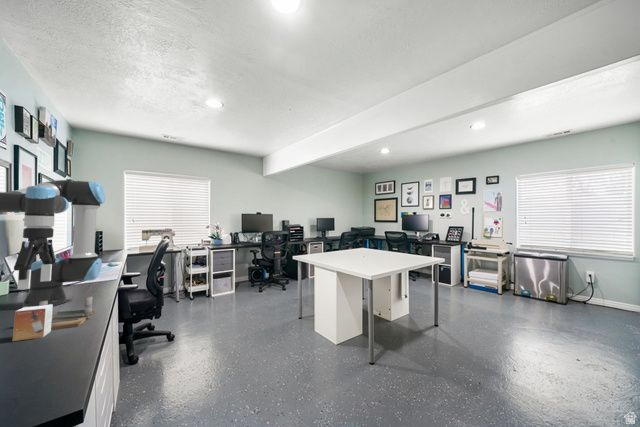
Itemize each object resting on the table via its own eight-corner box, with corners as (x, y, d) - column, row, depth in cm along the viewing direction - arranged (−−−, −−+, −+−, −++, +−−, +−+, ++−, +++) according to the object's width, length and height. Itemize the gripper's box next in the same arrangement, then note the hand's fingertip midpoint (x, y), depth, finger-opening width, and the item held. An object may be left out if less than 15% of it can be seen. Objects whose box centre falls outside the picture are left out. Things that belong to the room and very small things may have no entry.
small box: (11, 342, 87) (14, 311, 88) (21, 335, 92) (23, 306, 93) (43, 337, 91) (45, 308, 91) (51, 331, 96) (53, 303, 96)
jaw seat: (50, 317, 110) (51, 296, 111) (98, 311, 118) (99, 292, 118) (24, 333, 94) (26, 308, 95) (82, 325, 101) (83, 302, 102)
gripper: (44, 227, 103) (40, 279, 102) (0, 227, 81) (-5, 294, 79) (68, 227, 106) (65, 277, 105) (32, 227, 84) (28, 291, 83)
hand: (35, 284), depth 92 cm, fingers open, 13 cm apart
